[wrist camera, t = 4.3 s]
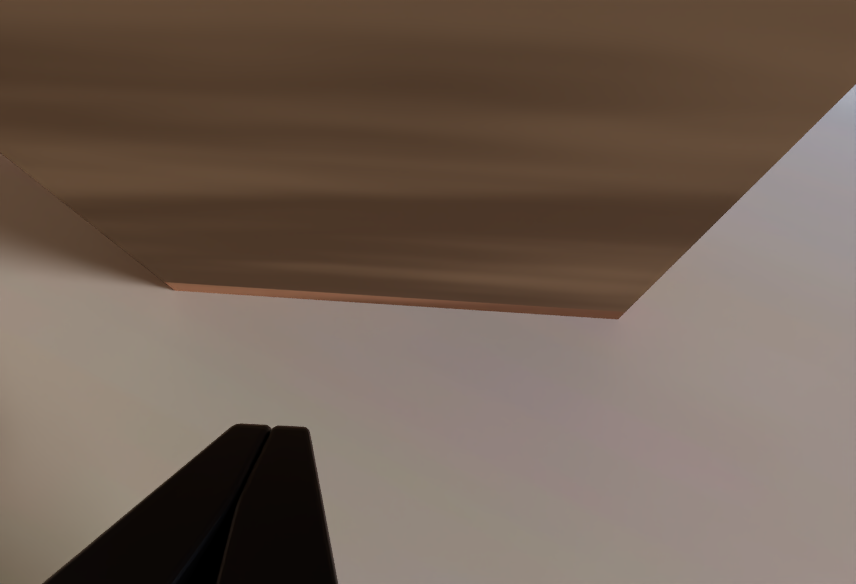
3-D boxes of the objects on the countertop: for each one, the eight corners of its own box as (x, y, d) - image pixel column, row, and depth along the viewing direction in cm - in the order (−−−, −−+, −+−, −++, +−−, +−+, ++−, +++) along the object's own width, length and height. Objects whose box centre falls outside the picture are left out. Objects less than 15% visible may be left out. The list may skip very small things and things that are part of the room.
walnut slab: (617, 319, 19) (1029, -88, 6) (174, 290, 20) (-388, -154, 6) (617, 214, 20) (979, -353, 7) (192, 189, 21) (-274, -398, 7)
